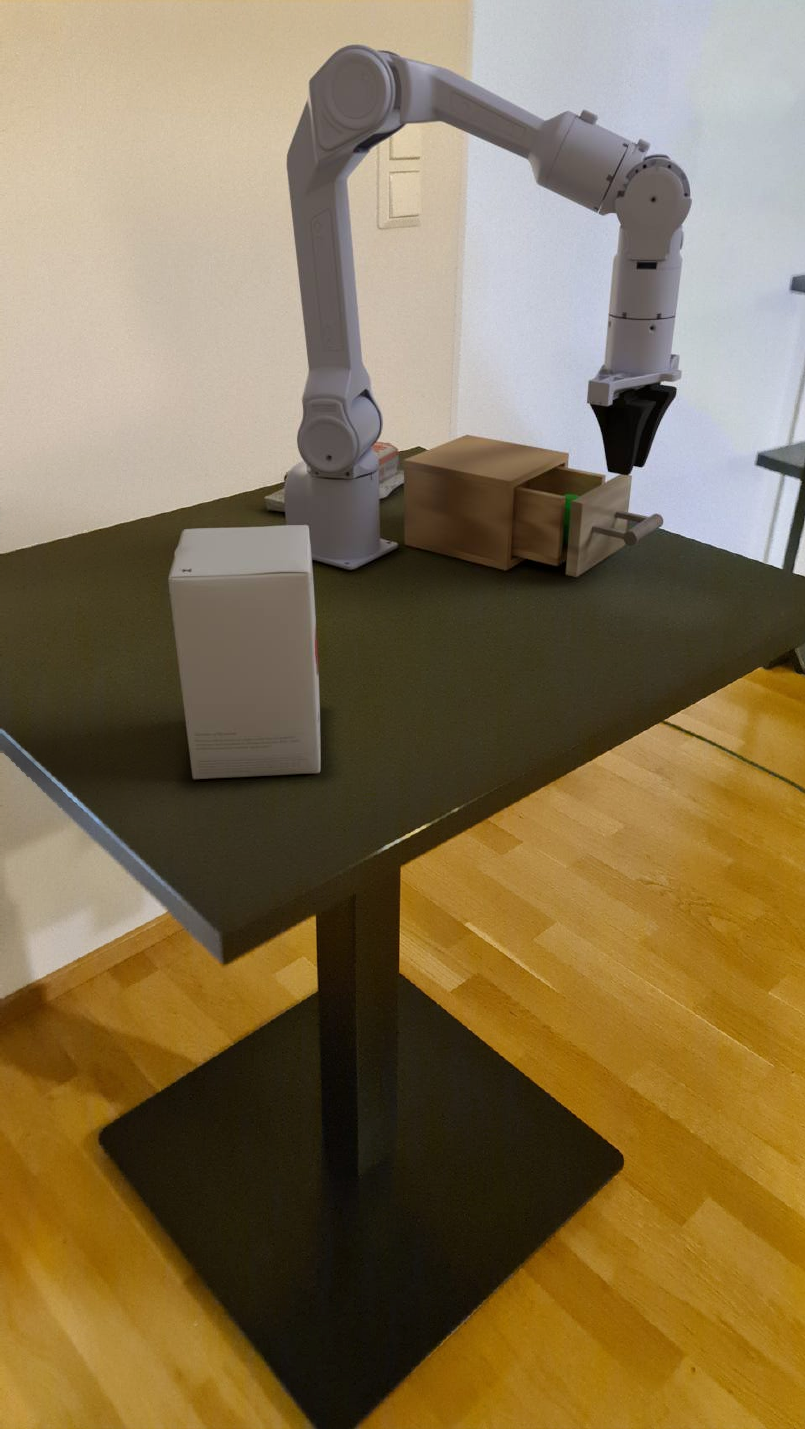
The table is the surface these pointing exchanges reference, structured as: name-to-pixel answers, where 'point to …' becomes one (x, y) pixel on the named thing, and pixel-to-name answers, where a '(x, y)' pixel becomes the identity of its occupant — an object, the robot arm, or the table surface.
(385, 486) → the packaged product
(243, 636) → the rectangular carton
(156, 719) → the table surface
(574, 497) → the polyhedron
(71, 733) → the table surface
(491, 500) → the cabinet
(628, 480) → the drawer
